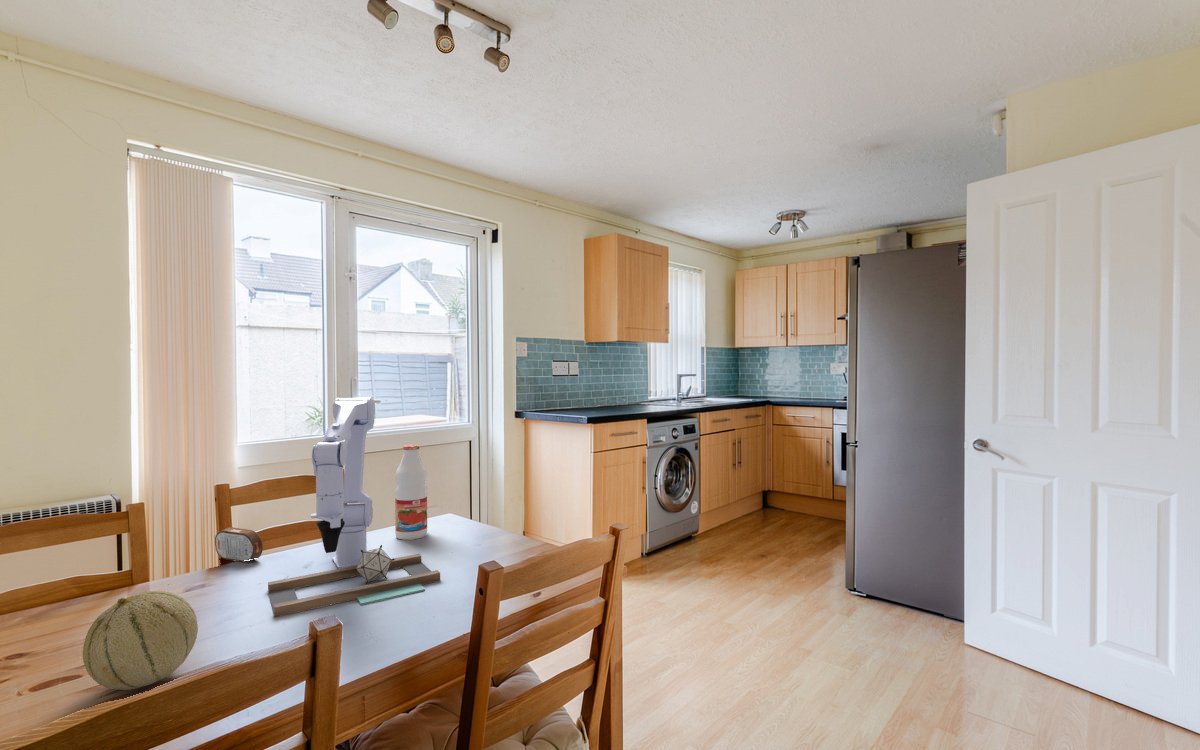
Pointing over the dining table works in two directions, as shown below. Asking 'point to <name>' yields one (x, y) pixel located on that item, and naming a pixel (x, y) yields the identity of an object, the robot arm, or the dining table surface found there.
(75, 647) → the dining table surface
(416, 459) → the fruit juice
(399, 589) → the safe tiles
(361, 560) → the game die
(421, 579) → the lane rails
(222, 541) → the tin
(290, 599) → the mats
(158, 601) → the cantaloupe
